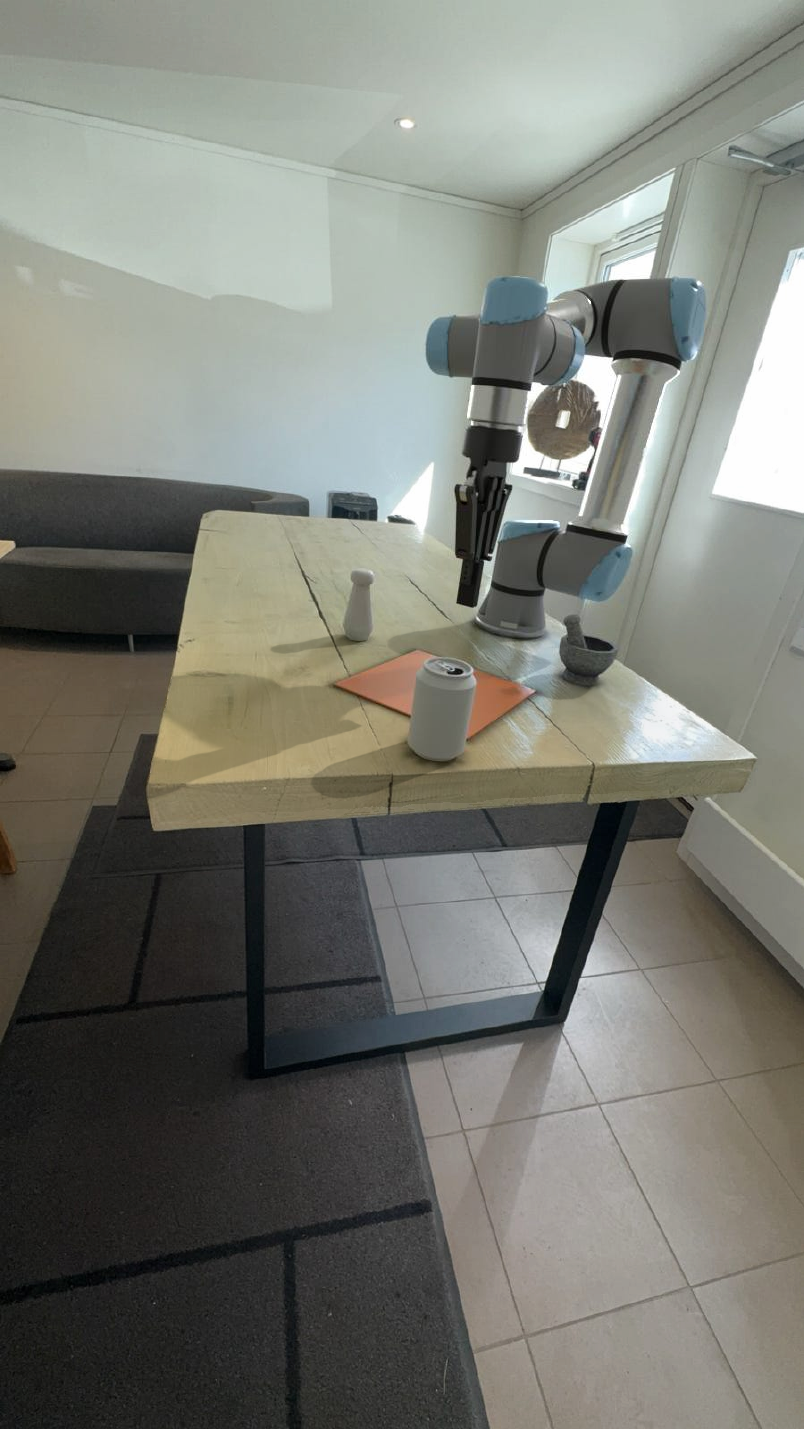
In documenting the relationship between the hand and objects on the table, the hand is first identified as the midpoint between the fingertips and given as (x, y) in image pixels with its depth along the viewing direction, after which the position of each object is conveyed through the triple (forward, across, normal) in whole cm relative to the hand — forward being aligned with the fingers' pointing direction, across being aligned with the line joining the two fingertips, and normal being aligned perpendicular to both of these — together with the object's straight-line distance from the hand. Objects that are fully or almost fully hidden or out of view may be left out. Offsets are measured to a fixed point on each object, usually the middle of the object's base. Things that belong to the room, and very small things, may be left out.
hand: (466, 604), depth 86 cm
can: (+15, +17, +7) cm, 23 cm away
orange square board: (+15, -1, -3) cm, 15 cm away
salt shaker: (+15, -10, -27) cm, 32 cm away
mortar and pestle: (+16, -25, +12) cm, 32 cm away
